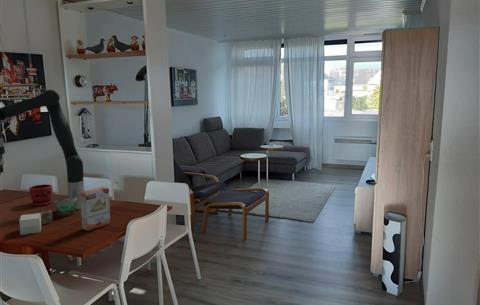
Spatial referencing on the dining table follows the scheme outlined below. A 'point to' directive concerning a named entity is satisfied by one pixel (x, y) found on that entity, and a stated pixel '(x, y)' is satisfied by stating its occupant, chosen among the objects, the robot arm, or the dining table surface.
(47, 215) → the walnut block
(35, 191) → the plant pot
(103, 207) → the cracker box
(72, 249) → the dining table surface
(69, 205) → the food container
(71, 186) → the robot arm
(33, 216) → the tower top
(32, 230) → the tower base
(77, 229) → the dining table surface
